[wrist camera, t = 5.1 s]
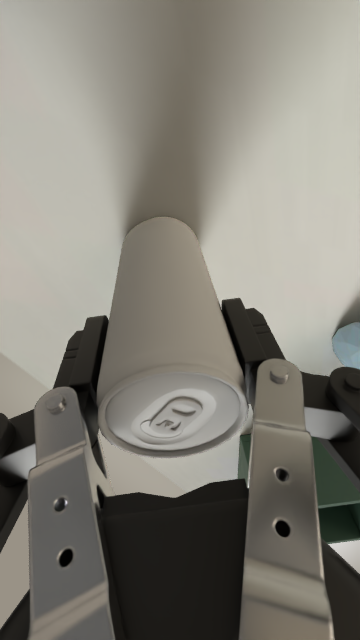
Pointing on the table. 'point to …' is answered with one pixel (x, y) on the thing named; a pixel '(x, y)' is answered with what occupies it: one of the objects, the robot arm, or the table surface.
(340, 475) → the bin
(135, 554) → the robot arm
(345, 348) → the gemstone
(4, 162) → the table surface
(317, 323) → the table surface
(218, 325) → the beverage can
